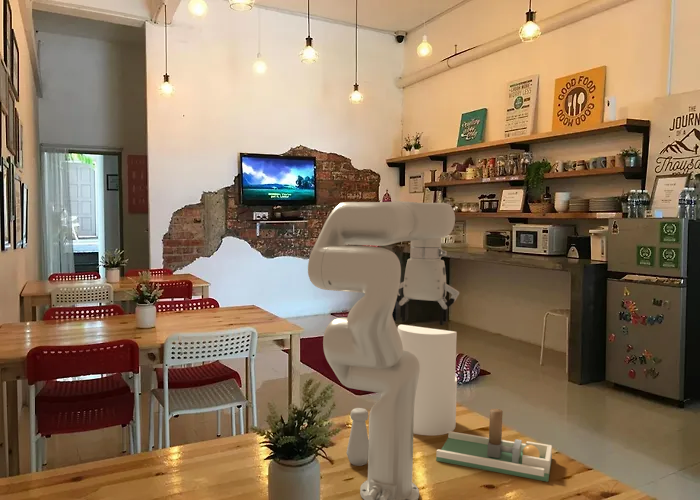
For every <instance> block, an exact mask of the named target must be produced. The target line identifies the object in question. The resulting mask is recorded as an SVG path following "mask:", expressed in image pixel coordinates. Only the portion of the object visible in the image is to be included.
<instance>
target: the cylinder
mask: <svg viewBox="0 0 700 500" xmlns="http://www.w3.org/2000/svg"><path fill="white" fill-rule="evenodd" d="M397 330H398V332H399V335H400V338H401V341H402V346H403V350H405V351H408V352H410V353H412V354H414V355H415V356H416V357H417V359H418V361H419V365H420V373H419V379H418V384H417V390H416V396H415V406H414V432H413V435H419V436H441V435H442V436H443V435H446V434H448V433H449V431H452V432H454V430H455V429H456V425H457V424H456V423H457V422H456V421H457V393H458V392H457V389H458V388H457V386H458V378H457V376H456V369H457V368H456V367H457V361H456V360H457V337H458V336H457V334H458V333H457V331H453V330H446V329H439V328H430V327H422V326H415V325H408V324H399V325H398V326H397Z"/></svg>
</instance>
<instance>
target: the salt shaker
mask: <svg viewBox="0 0 700 500" xmlns="http://www.w3.org/2000/svg"><path fill="white" fill-rule="evenodd" d="M350 419H351V420H352V423H351V428H350V433H349V438H348V443H347V449H346V456H347V460H348V461H349V463H350V464H352V466H358V467H362V466H364V465H368V449H369V433H368V429H367V424H366V421H367V420H369V411H368V410H367V409H366V408H363V407H355V408H353V409H352V410H351V411H350Z"/></svg>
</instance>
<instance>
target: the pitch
mask: <svg viewBox="0 0 700 500" xmlns="http://www.w3.org/2000/svg"><path fill="white" fill-rule="evenodd" d="M447 434H448V436H447V439H446V440H445V442H444V444H443V446H442V447H441V449H439V448H438V449H436V456H435V457H436V459H435V460H436V462H442V463H447V464H451V465H452V464H453V465H458V466H463V467H466V468H467V467H469V468H473V469H479V470H483V471H487V472H489V471H490V472H495V473H499V474H500V473H501V474H505V475H511V476H516V477H522V478H526V479H532V480H536V481H542V482H546V483H547V482H549V479H550V471H551V465H552V456H553V454H552V453H553V452H552V451H553V450H552V449H553V445H552V444H547V443H540V442H533V441H526V442H525V443H523V442H522V444H521V456H520V460H519V463H513V462H512V453H506V452H502V454H501V456H500V458H495V457H489V456H487V449H488V442H489V436H488V437H487V436H480V435H476V434H470V433H463V432H455V431H449V433H447ZM514 442H515V441H510V440H505V439H502V446H507V447H512V448H513V445H514ZM527 445H533V446H535V447H537V449H538V450H539V452H540V457H539V458H538V457H532V456H527V455H523V454H522V452H523V449H524V447H526V446H527Z"/></svg>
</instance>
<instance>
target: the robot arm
mask: <svg viewBox="0 0 700 500" xmlns="http://www.w3.org/2000/svg"><path fill="white" fill-rule="evenodd" d="M455 222H456V215H455V211H454V208H453V206H451V204H449V203H447V202H414V201H401V200H400V201H377V202H376V201H372V202H371V201H359V202H358V201H345V202H343V201H342V202H340V203H339V204H338V205H335V207H334V208H333V209H332V211H331V212H330V213H329V215H328V217H327V218H326V220H325V221H324V224H323V226H322V229H321V230H320V233H319V235H318V237H317V239H316V241H315V243H314V245H313V247H312V249H311V251H310V252H311V253H310V254H309V259H308V263H307V274H308V277H309V280H310V282H311V284H312V285H313V286H315V287H316V288H317V289H321V290H325V291H336V292H348V293H360V294H364V295H363V296H362V297H361V298H360V299H359V300H357V301H356V303H354V305H353V306H352V307H351V309H350V310H349V312H348V315H347V317H344V316H343V317H337V318H335V319H332V320H331V321H330V322H329V323H328V325H327V326H326V328H325V330H324V333H323V338H322V339H323V341H322V344H323V345H322V346H323V348H322V349H323V353H324V356H325V359H326V361H327V363H328V364H329V366H330V368H331V369H332V371H333V372H334V374H335V376H336V378H337V379H338V380H339V381H340V383H341V385H343V386H345V387H346V388H348V389H354V390H360V391H365V392H372V393H378V394H380V395H381V396H380V398H379V399H378V400H377V401H376V402H375V403H374V404H373V405H372V407H371V408H370V411H369V413H368V440H369V449H368V461H367V479H366V480H364V482H363V483H362V484H361V485H360V487H359V490H360V491H359V493H360V496H361V498H362V499H363V500H419V497H420V489H419V488H418V486H417V485H416V484H415V483H414V482H413V468H414V467H413V466H414V465H413V463H414V434H413V432H414V406H415V396H416V390H417V384H418V379H419V373H420V365H419V361H418V359H417V357H416V356H415V355H414V354H412V353H410V352H408V351H405V350H403V346H402V341H401V338H400V335H399V332H398V326H397V325H396V322H395V320H394V317H393V314H394V313H393V312H394V309H395V307H396V303H398V305H399V306H400V312H399V313H400V318H401V322H404V323H405V322H406V321H408V320H409V307H410V306H409V304H408V302H409V301H410V300H417V301H418V300H419V301H429V302H430V301H433V302H437V303H439V305H440V306H441V309H439V325H440V326H444V325H445V324H446V322H448V315H449V312H448V311H449V308H450V307H451V306H452V305H453V304H454V303H455V302H456V300H457V299H458V297H459V295H460V291H459V290H457V289H455V288H454V287H452V286H451V285H449V284H447V274H446V273H447V272H446V265H445V261H444V259H441V258H442V257H447V250H444V249H443V247H442V238H445V237H448V236H449V235H450V234H451V233H452V231H453V229H454V227H455ZM401 242H410V247H409V248H410V249H409V250H410V251H409V253H410V255H409V257H410V258H408V259H407V260H406V261H407V262H406V266H405V271H404V279H403V281H401V276H402V267H401V263H400V262H401V261H400V259H399V257H398V255H397V254H395V252H393V251H392V250H389V249H386V248H384V247H385V246H389V245H393V244H397V243H401ZM381 246H384V247H381ZM402 288H403V289H402ZM400 289H402V290H403V296H402V295H401V294H400V292H399V290H400ZM447 292H448V293H449V294H451V296H450V298H449V299H448V300H447V299H446V296H447Z"/></svg>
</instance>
